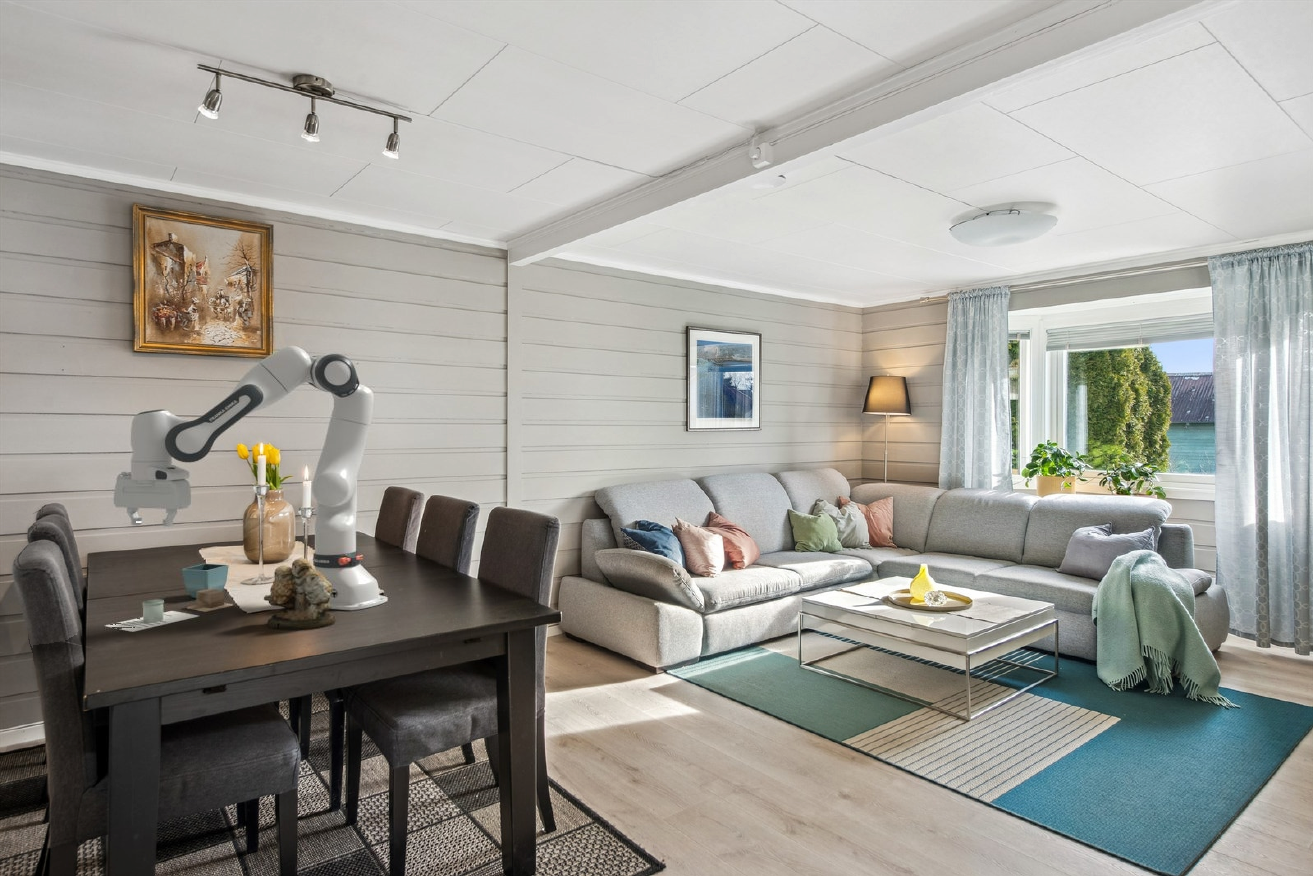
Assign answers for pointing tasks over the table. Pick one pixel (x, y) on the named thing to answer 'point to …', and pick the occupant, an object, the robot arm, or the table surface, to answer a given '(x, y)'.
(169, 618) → the letter
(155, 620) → the jar
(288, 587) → the owl figurine
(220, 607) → the coaster
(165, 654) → the table surface
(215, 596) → the walnut block
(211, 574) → the flower pot
